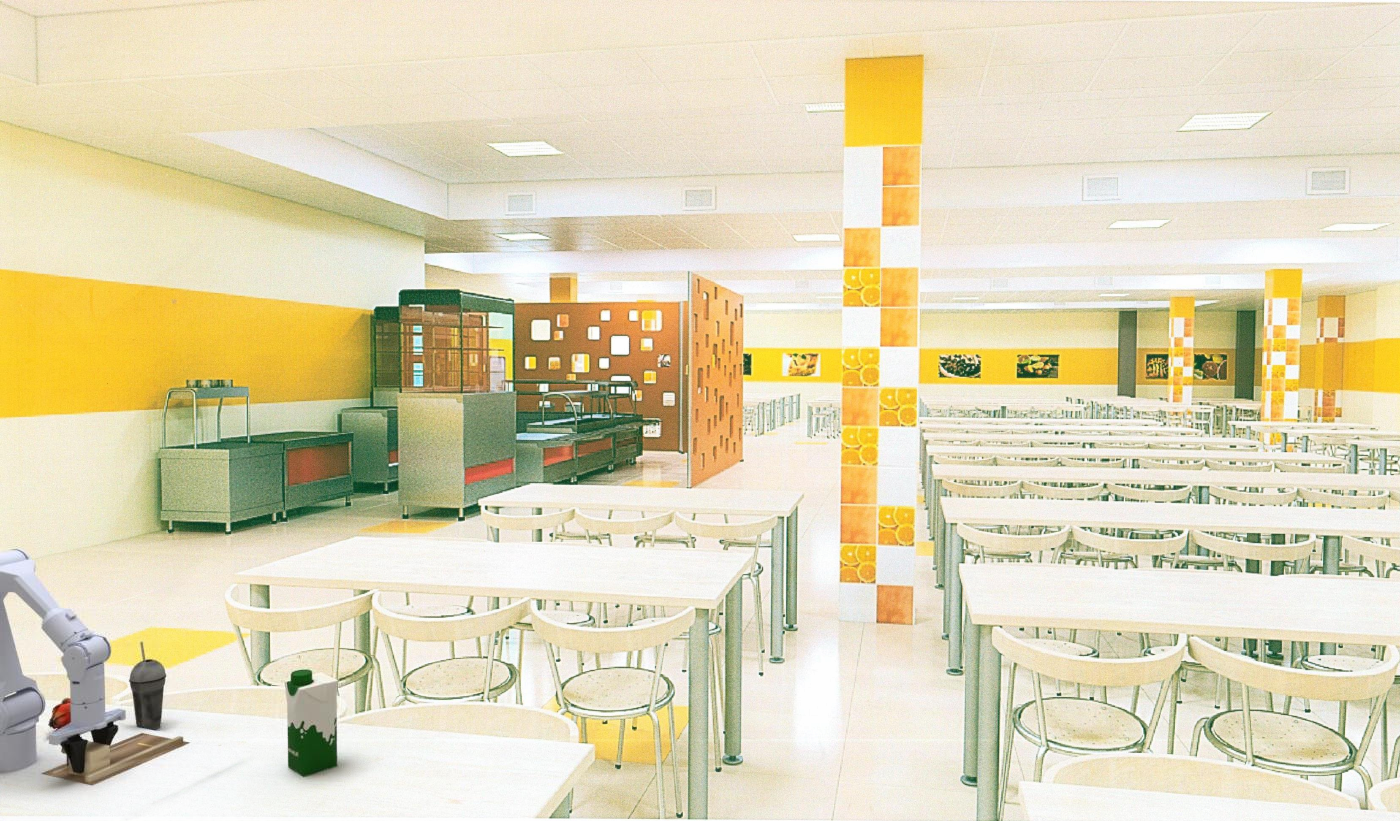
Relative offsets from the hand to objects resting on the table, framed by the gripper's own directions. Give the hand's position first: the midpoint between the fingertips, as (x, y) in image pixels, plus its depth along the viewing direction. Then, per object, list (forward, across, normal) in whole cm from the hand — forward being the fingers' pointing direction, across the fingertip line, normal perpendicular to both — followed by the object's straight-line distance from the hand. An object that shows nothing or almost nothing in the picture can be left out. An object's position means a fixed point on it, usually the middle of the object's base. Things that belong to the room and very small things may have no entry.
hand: (89, 767), depth 189 cm
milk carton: (+3, +21, -36) cm, 42 cm away
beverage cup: (+3, +23, +12) cm, 26 cm away
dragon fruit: (+3, +16, +26) cm, 31 cm away
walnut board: (+2, +7, +1) cm, 7 cm away
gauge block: (+1, 0, +2) cm, 2 cm away
